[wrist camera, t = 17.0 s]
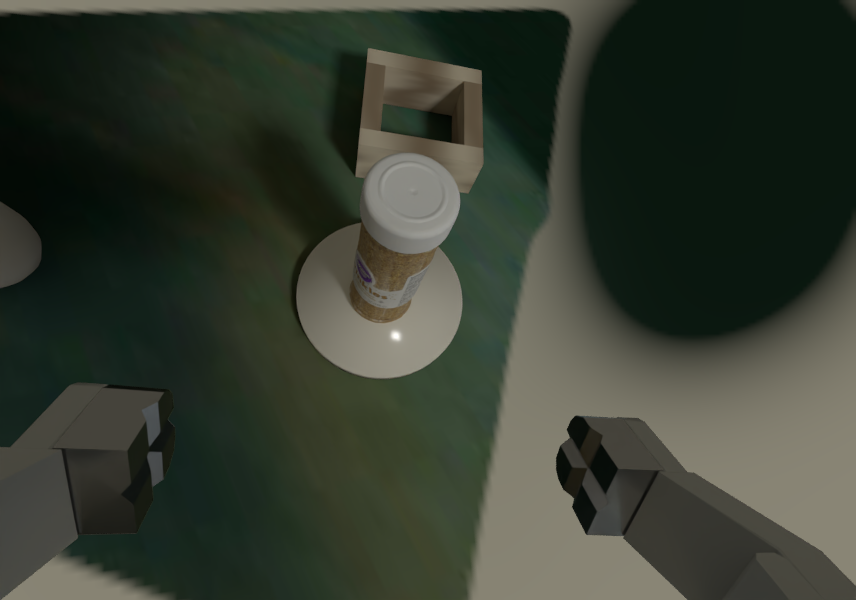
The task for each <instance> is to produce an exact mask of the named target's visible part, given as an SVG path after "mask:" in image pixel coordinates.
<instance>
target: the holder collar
mask: <svg viewBox="0 0 856 600" xmlns="http://www.w3.org/2000/svg"><path fill="white" fill-rule="evenodd" d="M383 104H389V105H394V106H400V107H406V108H411V109H417V110H422V111H428V112H434V113H439V114H445V115H450V116H452V143H448V142H442V141H436V140H430V139H424V138H418V137H412V136H406V135H400V134H394V133H388V132H382V131H381V118H382V106H383ZM396 153H416V154H421V155H424V156H426V157H429V158H431V159H433V160H435V161H437V162H438V163H439V164H441V165H442V166H443V167H444V168H445V169H446V170H447V171H448V172H449V173H450V174H451V175H452V177H453V178H454V180H455V182H456V184H457V187H458V190H459V192H462V193H469V191H470V189H471V187H472V185H473V183H474V181H475V179H476V177H477V176H478V174H479V172H480V170H481V168H482V166H483V124H482V74H481V70H476V69H471V68H465V67H460V66H455V65H450V64H445V63H440V62H435V61H430V60H425V59H420V58H415V57H410V56H405V55H400V54H395V53H390V52H385V51H380V50H375V49H370V48H368V55H367V65H366V75H365V85H364V95H363V105H362V115H361V125H360V135H359V145H358V156H357V166H356V176H355V177H360V178H365V177H366V175H367V173H368V171H369V170H370V169H371V167H372V166H373V165H374V164H375V163H377V162H378V161H379V160H381V159H382V158H384V157H386V156H389V155H392V154H396Z"/></svg>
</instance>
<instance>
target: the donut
mask: <svg viewBox="0 0 856 600" xmlns="http://www.w3.org/2000/svg"><path fill="white" fill-rule="evenodd" d="M41 249H42V247H41V239H40V237H39V236H38V234H37V232H36V231H35V230H34V228H33V227H32V226H31V225H30V224H29V222H28V221H27V220H26V219H25V218H24V217H22V216H21V215H20V214H19V213H17V212H15V211H14V210H12V209H11V208H9V207H8V206H6V205H5V204H3V203H2V202H0V288H3V287H6V286H10V285H13V284H16V283H18V282H20V281H22V280H23V279H25V278H26V277H27V276H28V275H30V274H31V273H32V272H33V271H34V270H35V269H36V268H37V267H38V266H39V263H40V261H41Z"/></svg>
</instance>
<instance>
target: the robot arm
mask: <svg viewBox="0 0 856 600" xmlns="http://www.w3.org/2000/svg"><path fill="white" fill-rule="evenodd" d="M173 408H174V405H173V394H172V392H171V391H170V390H169V389H158V388H146V387H134V386H122V385H106V384H93V383H80V382H78V383H75V384H72V385H70V386H68V387H67V388H66V389H65V390H64V391H63V393H62V394H61V395H60V396H59V397H58V398H57V399H56V400H55V401H54V402H53V403H52V404H51V405H50V406H49V407H48V408H47V409H46V410H45V411H44V412H43V413H42V414H41V416H40V417H39V418H38V419H37V420H36V421H35V422H34V423H33V424H32V425H31V426H30V427H29V428H28V429H27V430H26V431H25V432H24V433H23V434H22V435H21V436H20V438H19V439H18V440H17V441H16V442H15V443H14V444H13V445H12V446H11V447H10V448H8V447H0V600H1V599H2V598H3V597H5V596H6V595H7V594H8V593H10V592H11V591H12V590H13V589H15V588H16V587H17V586H18V585H20V584H21V583H22V582H23V581H25V580H26V579H27V578H28V577H30V576H31V575H32V574H33V573H34V572H36V571H37V570H38V569H40V568H41V567H42V566H43V565H45V564H46V563H47V562H48V561H50V560H51V559H52V558H53V557H55V556H56V555H57V554H58V553H60V552H61V551H62V550H63V549H65V548H66V547H67V546H68V545H70V544H71V543H72V542H73V541H75V540H76V539H77V538H78V535H90V534H133V533H137V532H138V530H139V528H140V526H141V524H142V522H143V520H144V517H145V515H146V513H147V511H148V509H149V507H150V505H151V503H152V501H153V490H152V487H153V486H154V485H155V484H157V483H158V482H160V481H161V480H163V479H164V477H165V474H166V472H167V470H168V468H169V466H170V462H171V459H172V455H173V451H174V444H175V427H174V426H173V424H172V423H171V422H170V421H169V420H168V417H169V416H170V414H171V412H172V410H173ZM567 431H568V434H569V436H570V438H569V439H568V440H567V441H565V442H564V443H563V444H562V445H561V446H560V448H559V451H558V454H557V457H556V471H557V475H558V479H559V481H560V483H561V485H562V488H563V490H565V491H566V492H567V493H569V494H570V495H571V496H572V497H573V498H574V502H573V506H572V507H573V510H574V512H575V514H576V516H577V517H578V519H579V521H580V523H581V525H582V527H583V529H584V531H585V533H586V534H587V535H606V536H607V535H608V536H624V539H625V540H626V541H627V542H628V543H629V544H630V545H631V546H632V547H633V548H634V549H635V550H636V551H637V552H639V554H640V555H642V557H644V558H645V559H646V560H647V561H648V562H649V563H650V564H651V565H652V566H653V567H654V568H655V569H656V570H657V571H658V572H659V573H660V574H661V575H662V576H663V577H665V579H667V580H668V581H669V582H670V583H671V584H672V585H673V586H674V587H675V588H676V589H677V590H678V591H679V592H680V593H681V594H682V595H683V596H684V597H685V598H686V599H687V600H856V586H855V585H854V584H853V583H852V582H851V581H850V580H849V579H848V578H847V577H846V576H845V575H844V574H843V573H842V572H841V571H840V570H839V569H838V567H837V566H836V565H835V564H833V562H832V561H831V560H830V559H829V558H828V557H827V556H826V555H824V553H823V552H822V551H820V550H819V549H817V548H816V547H814V546H812V545H810V544H809V543H807V542H806V541H804V540H803V539H801V538H799V537H798V536H796V535H794V534H793V533H791V532H790V531H788V530H786V529H785V528H783V527H781V526H780V525H778V524H776V523H775V522H773V521H772V520H770V519H768V518H767V517H765V516H763V515H762V514H760V513H758V512H757V511H755V510H754V509H752V508H750V507H749V506H747V505H746V504H744V503H742V502H741V501H739V500H737V499H735V498H734V497H733V496H731V495H729V494H728V493H726V492H724V491H723V490H721V489H719V488H718V487H716V486H715V485H713V484H711V483H710V482H708V481H706V480H705V479H703V478H702V477H700V476H698V475H697V474H695V473H689V472H687V471H686V470H685V469H684V468H683V466H682V465H681V464H680V463H679V462H678V461H677V459H676V458H675V457H674V456H673V455H672V454H671V452H670V451H669V450H668V449H667V448H666V447H665V445H664V444H663V443H662V442H661V441H660V440H659V438H658V437H657V436H656V435H655V434H654V432H653V431H652V430H651V429H650V428H649V426H648V425H647V424H646V423H645V422H643V421H642V420H640V419H639V418H622V417H617V418H608V417H591V416H590V417H589V416H575V417H574V418H573V419H572V420H571V421H570V424H569V426H568V428H567Z"/></svg>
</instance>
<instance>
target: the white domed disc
mask: <svg viewBox="0 0 856 600" xmlns="http://www.w3.org/2000/svg"><path fill="white" fill-rule="evenodd" d="M360 228H361V223H357V224H354V225H350V226H347V227H344V228H342V229H340V230H338V231H336V232H334V233H332V234H331V235H329V236H328V237H326V238H325V239H324V240H323V241H321V242H320V243H319V244H318V245H317V246H316V247H315V248H314V249H313V251H312V252H311V253H310V255H309V256H308V258H307V259H306V261H305V263H304V265H303V267H302V270H301V272H300V275H299V279H298V284H297V293H296V299H297V309H298V314H299V318H300V322H301V325H302V327H303V330H304V332H305V334H306V336H307V338H308V339H309V341H310V343H311V344H312V345H313V347H314V348H315V349H316V350H317V351H318V352H319V353H320V354H321V355H322V356H323V357H324V358H325V359H326V360H327V361H329V362H330V363H331V364H333V365H334V366H336V367H338V368H339V369H341V370H343V371H345V372H348V373H350V374H353V375H356V376H360V377H363V378H370V379H393V378H399V377H403V376H407V375H410V374H412V373H414V372H417V371H419V370H421V369H422V368H424V367H426V366H428V365H429V364H430V363H431V362H433V361H434V360H435V359H436V358H437V357H438V356H439V355H440V354H441V353H442V352H443V351H444V350H445V349H446V348H447V346H448V345H449V344H450V342H451V341H452V339H453V337H454V335H455V333H456V331H457V328H458V326H459V323H460V318H461V313H462V292H461V287H460V282H459V279H458V276H457V274H456V272H455V270H454V267H453V265H452V264H451V262H450V261H449V259H448V258H447V256H446V255H445V254H444V253H443V251H442V250H441V249H440V248H439V247H438V248H437V249H436V251H435V254H434V257H433V260H432V262H431V263H430V265H429V267H428V269H427V271H426V273H425V275H424V277H423V279H422V281H421V283H420V285H419V287H418V289H417V291H416V293H415V295H414V296H413V297H412V301H411V304H410V307H409V309H408V310H407V312H406V313H405V314H404V315H403V316H402V317H401V318H399V319H397V320H395V321H392V322H388V323H374V322H372V321H369V320H367V319H365V318H363V317H361V316H360V315H359V314H358V313H357V312H356V311H355V309H354V307H353V306H352V303H351V299H350V294H349V293H350V284H351V282H352V280H353V268H354V261H355V254H356V249H357V246H358V241H359V236H360Z"/></svg>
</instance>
